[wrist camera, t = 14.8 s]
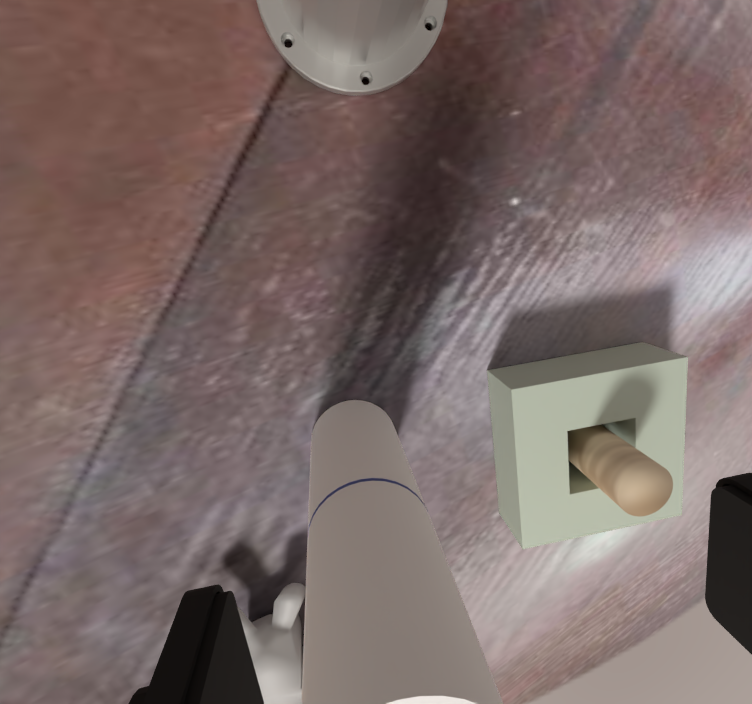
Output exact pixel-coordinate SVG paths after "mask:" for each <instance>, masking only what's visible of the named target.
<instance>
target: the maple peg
mask: <svg viewBox="0 0 752 704" xmlns="http://www.w3.org/2000/svg"><path fill="white" fill-rule="evenodd" d="M567 433H568V460H569V461H570V462H571V463H572V464H573V465H574V466H575V467H577V468H578V469H579V470H580V471H581V472H582V473H583V474H584V475H585V476H586V477H588V478H589V479H590V480H591V481H592V482H593V483H594V484H595V485H596V486H597V487H598V488H600V489H601V490H602V491H603V492H604V493H605V494H606V495H607V496H608V497H609V498H611V499H612V500H613V501H614V502H615V503H616V504H617V505H618V506H619V507H620V508H621V509H623V510H624V511H625V512H626V513H628V514H630V515H632V516H638V517H639V516H647V515H650V514H653V513H655V512H656V511H658V510H659V509H661V508H662V507H663V506H664V505H665V504H666V502H667V501H668V499H669V498H670V496H671V493H672V490H673V479H672V476H671V474H670V473H669V471H668V470H667V469H666V468H664V467H663V466H661V465H660V464H658V463H657V462H655V461H654V460H652V459H651V458H649V457H648V456H647V455H645V454H644V453H642V452H641V451H639V450H638V449H636V448H635V447H633V446H632V445H630V444H629V443H627V442H626V441H624V440H623V439H622V438H620V437H619V436H617V435H616V434H614V433H613V432H611V431H610V430H608V429H607V428H605V427H604V426H602V425H596V426H590V427H585V428H580V429H575V430H570V431H567Z"/></svg>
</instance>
